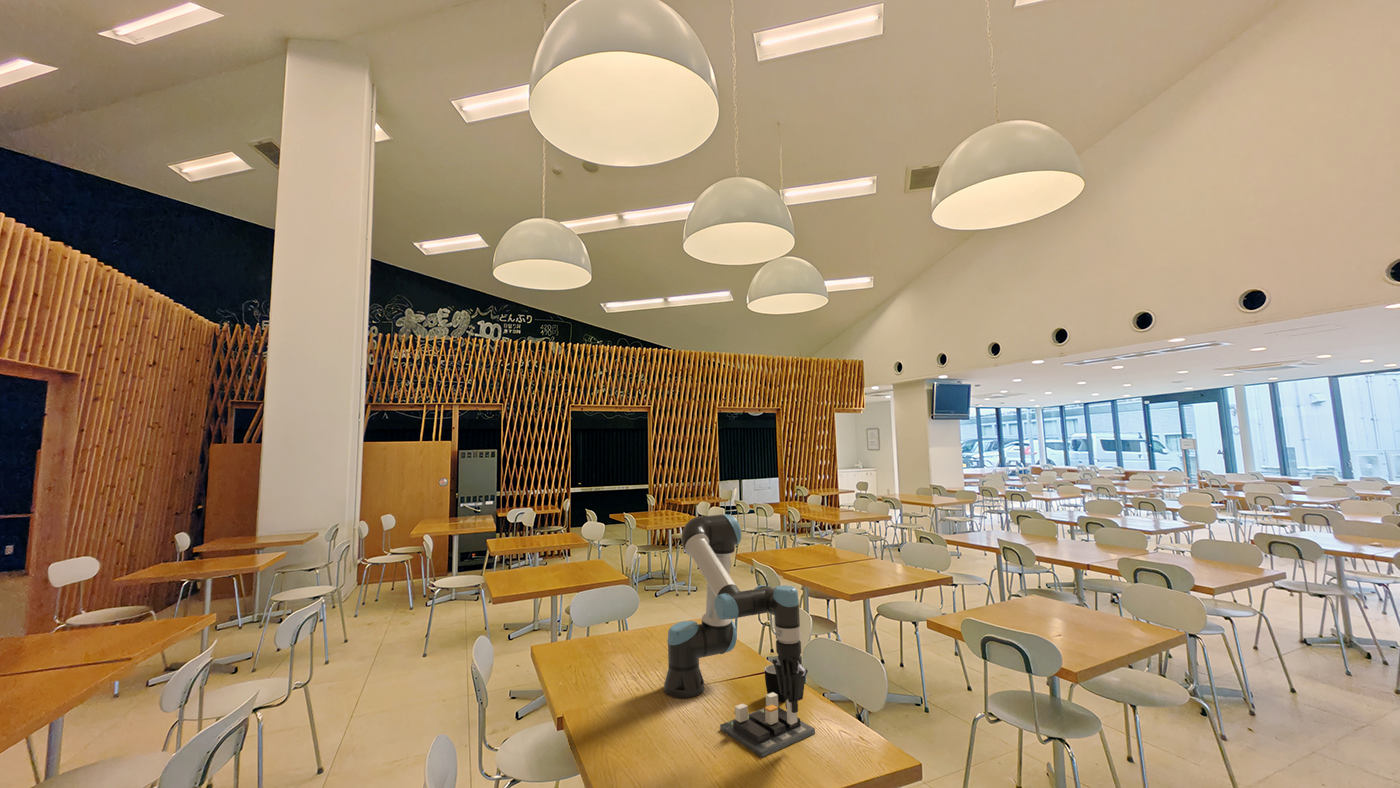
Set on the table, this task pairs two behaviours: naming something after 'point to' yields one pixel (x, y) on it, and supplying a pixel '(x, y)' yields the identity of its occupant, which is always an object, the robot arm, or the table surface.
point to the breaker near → (741, 712)
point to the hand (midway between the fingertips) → (792, 722)
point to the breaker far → (771, 699)
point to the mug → (772, 682)
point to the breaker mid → (771, 714)
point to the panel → (770, 749)
